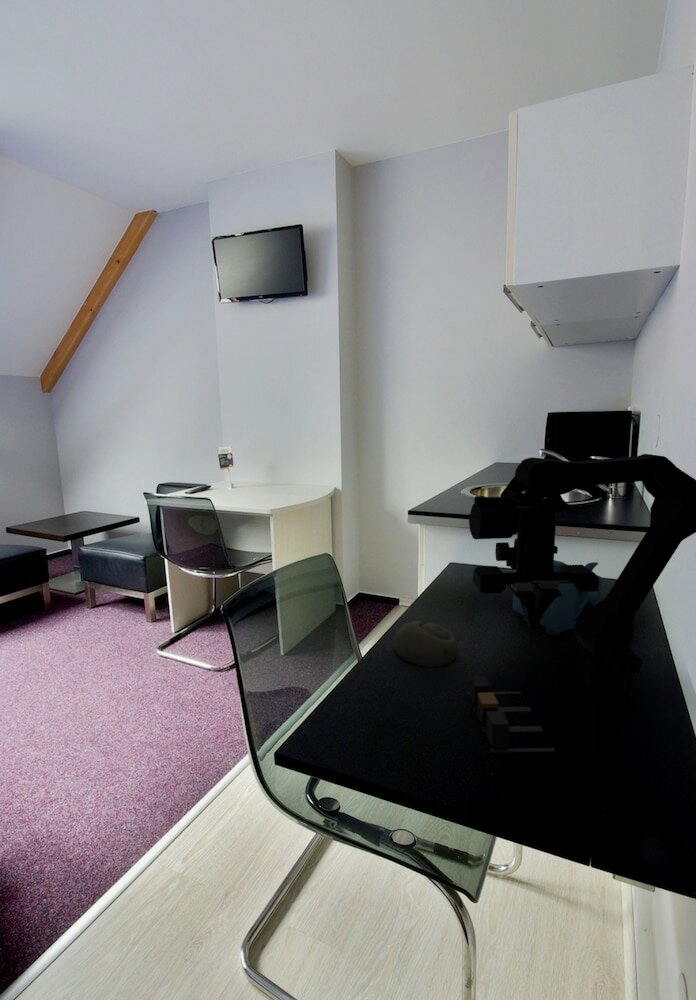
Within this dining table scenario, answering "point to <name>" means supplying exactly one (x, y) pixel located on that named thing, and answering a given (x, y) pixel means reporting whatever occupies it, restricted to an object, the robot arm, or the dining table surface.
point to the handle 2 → (497, 729)
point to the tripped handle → (486, 705)
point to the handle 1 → (478, 687)
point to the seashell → (425, 644)
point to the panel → (517, 727)
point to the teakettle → (564, 604)
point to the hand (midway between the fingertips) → (531, 627)
